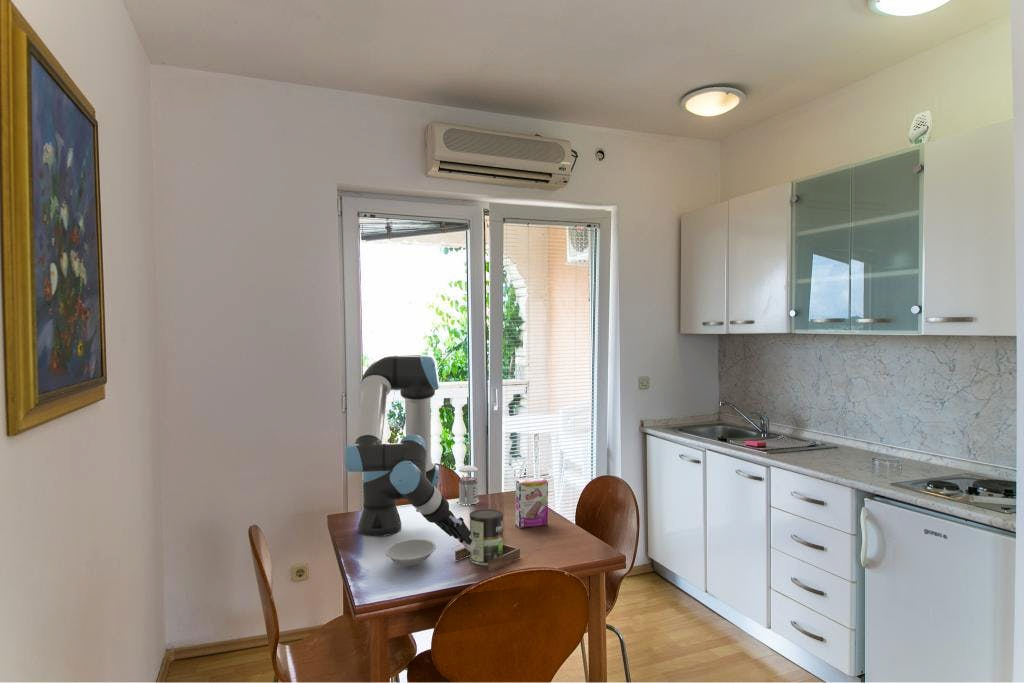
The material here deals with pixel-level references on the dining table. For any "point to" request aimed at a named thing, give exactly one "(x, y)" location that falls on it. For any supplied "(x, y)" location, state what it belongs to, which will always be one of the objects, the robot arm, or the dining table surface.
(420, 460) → the robot arm
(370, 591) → the dining table surface
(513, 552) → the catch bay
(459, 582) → the dining table surface
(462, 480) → the french press
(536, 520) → the candy bar box
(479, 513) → the coffee can
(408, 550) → the dish
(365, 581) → the dining table surface
